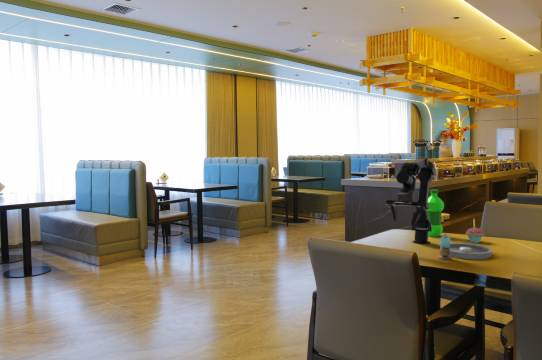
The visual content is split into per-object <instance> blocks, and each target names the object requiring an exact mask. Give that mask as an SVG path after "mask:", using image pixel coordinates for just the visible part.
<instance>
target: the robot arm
mask: <svg viewBox="0 0 542 360" xmlns="http://www.w3.org/2000/svg"><path fill="white" fill-rule="evenodd" d="M435 175H436V167H435V165H434V163H433V162H431V161H429V158H428V157H417V158H416V159H414V160H413V161H411V162H409V161H408V162H407V161H406V162H405V161H404V162H403V164H402V165H401V167H400V170H399V172H397V174H396V181H397V182H398V183H399V184H400V185H401V186H402V187H401V190H400V192H398V193H397V194H396V196H397V197H396V199H395V198H386V199H385V202H384V204H385V205H386V206H387V207H388V208H390V210H391V213H392V218H393V221H394V223H395V222H396V221H397V216H398V206H407V207H415V211H414V212H413V213H412V218H411V230H412V231H414V240H412V241H411V242H412V243H416V244H420V245H425V244H431V241H429V236H428V232H430V231H432V225H431V222H430V220H429V215H428V213H427V209H429V203H428V198H429V196H430V195H429V193H430V184H431V183H432V181H433V180H434V178H435ZM416 176H417V178H418V181H419V191H418V200H417V201H415V197H416V196H415V195H416V184H417V178H416ZM424 228H425V229H424ZM427 228H428V229H427Z"/></svg>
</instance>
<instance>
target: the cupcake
mask: <svg viewBox="0 0 542 360" xmlns="http://www.w3.org/2000/svg"><path fill="white" fill-rule="evenodd" d="M465 234H466V235H467V237H468V240H469V242H470V243H475V244H476V243H480V242H481V240H482V238H483V237H484V236H485V231H484V230H483V229H482V228H478V227H476V219H475V218H473V227H470V228H468V229H466V232H465Z"/></svg>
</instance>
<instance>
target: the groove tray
mask: <svg viewBox="0 0 542 360" xmlns="http://www.w3.org/2000/svg"><path fill="white" fill-rule="evenodd" d="M441 248H442V247H440V248H439V250H440V249H441ZM449 249H450V251H451V253H450V255H449V256H451V258H455V259H462V260H486V259H490V258H492V256H493V249H491V248H490V247H487V246H484V245H479V244H476V243H475V244H472V243H460V242H454V243H452V242H450V248H449Z"/></svg>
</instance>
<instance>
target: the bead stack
mask: <svg viewBox="0 0 542 360" xmlns="http://www.w3.org/2000/svg"><path fill="white" fill-rule="evenodd" d="M439 242H440V243H439V244H440V247H442V248H441V249H440V248H439V255H438V259H439V260H441V261H452V257H451V256H449V255H450V253H451V251H450V249H449V248H450V243H451V237H450V236H449V235H448V234H447V233H443V236H440V240H439Z"/></svg>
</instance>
